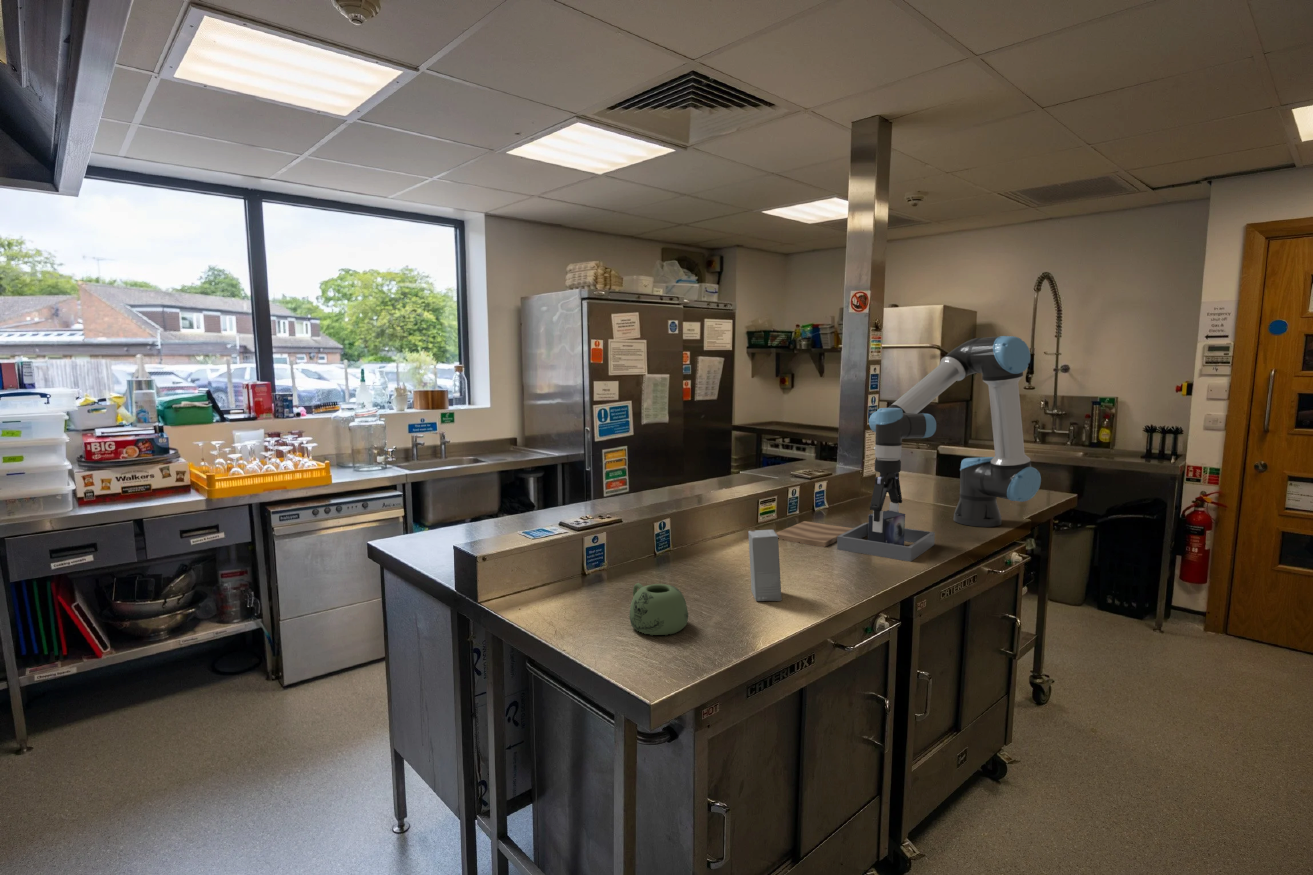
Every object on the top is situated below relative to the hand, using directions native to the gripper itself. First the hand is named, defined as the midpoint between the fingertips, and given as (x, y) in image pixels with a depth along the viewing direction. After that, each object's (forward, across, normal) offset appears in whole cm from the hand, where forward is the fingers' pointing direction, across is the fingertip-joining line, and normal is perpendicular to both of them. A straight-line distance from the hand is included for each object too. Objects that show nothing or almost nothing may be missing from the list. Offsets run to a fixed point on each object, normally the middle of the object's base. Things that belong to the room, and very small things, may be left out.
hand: (885, 527), depth 199 cm
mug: (+8, +90, -18) cm, 92 cm away
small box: (+6, 0, 0) cm, 6 cm away
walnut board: (+6, 0, -24) cm, 25 cm away
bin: (+6, 0, 0) cm, 6 cm away
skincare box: (+7, +60, -8) cm, 61 cm away
